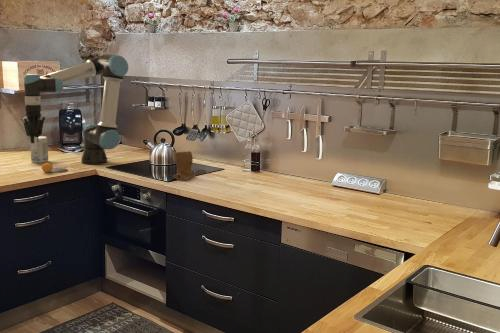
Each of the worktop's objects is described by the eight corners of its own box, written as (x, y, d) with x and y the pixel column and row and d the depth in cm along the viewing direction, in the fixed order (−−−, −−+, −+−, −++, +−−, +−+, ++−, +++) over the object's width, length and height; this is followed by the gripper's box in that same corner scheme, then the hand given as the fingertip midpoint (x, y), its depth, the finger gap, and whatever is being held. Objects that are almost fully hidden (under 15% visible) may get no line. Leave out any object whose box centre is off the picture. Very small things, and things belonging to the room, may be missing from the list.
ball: (38, 168, 281) (43, 175, 284) (47, 166, 280) (52, 173, 283) (41, 161, 284) (46, 168, 288) (50, 159, 284) (55, 166, 287)
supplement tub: (45, 159, 318) (44, 135, 315) (50, 162, 311) (49, 137, 308) (28, 161, 312) (27, 136, 309) (33, 163, 305) (32, 138, 302)
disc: (66, 167, 298) (66, 167, 298) (69, 172, 288) (69, 171, 288) (43, 169, 293) (43, 168, 293) (46, 173, 282) (46, 173, 282)
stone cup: (181, 174, 295) (181, 148, 292) (199, 177, 290) (200, 150, 287) (166, 179, 281) (167, 152, 278) (186, 182, 277) (186, 154, 274)
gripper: (26, 105, 264) (28, 151, 268) (48, 104, 275) (49, 148, 279) (17, 104, 267) (19, 149, 272) (38, 103, 278) (40, 146, 283)
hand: (34, 149), depth 276 cm, fingers closed
